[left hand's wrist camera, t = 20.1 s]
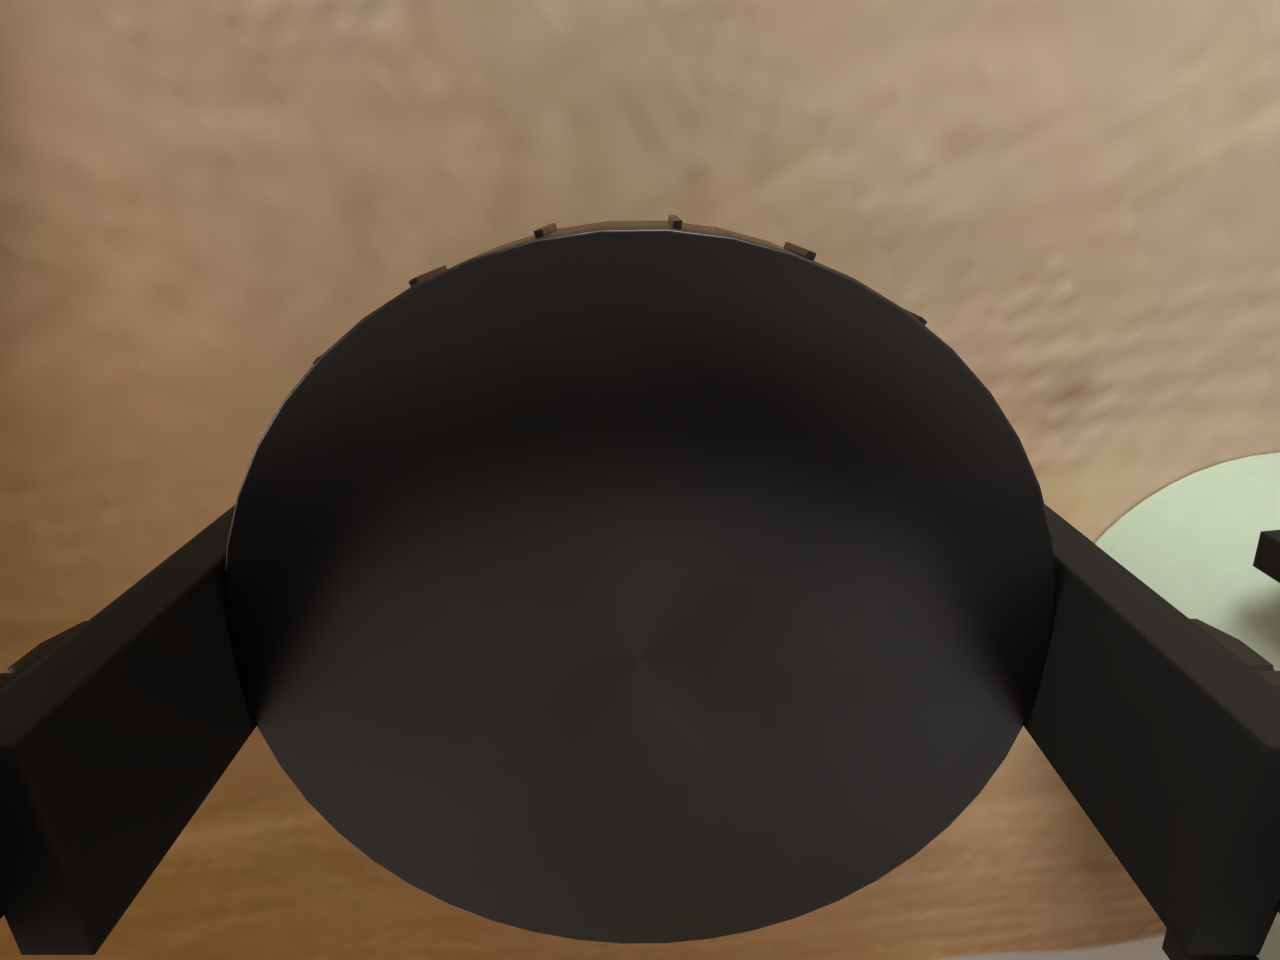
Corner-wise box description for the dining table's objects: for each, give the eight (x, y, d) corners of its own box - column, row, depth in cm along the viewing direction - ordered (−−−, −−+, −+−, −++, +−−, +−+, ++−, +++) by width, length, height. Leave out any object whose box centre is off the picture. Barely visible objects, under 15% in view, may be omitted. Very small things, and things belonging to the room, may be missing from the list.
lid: (975, 127, 10) (1057, 112, 8) (1003, 794, 14) (1061, 891, 12) (164, 311, 11) (59, 339, 9) (418, 886, 15) (385, 991, 13)
